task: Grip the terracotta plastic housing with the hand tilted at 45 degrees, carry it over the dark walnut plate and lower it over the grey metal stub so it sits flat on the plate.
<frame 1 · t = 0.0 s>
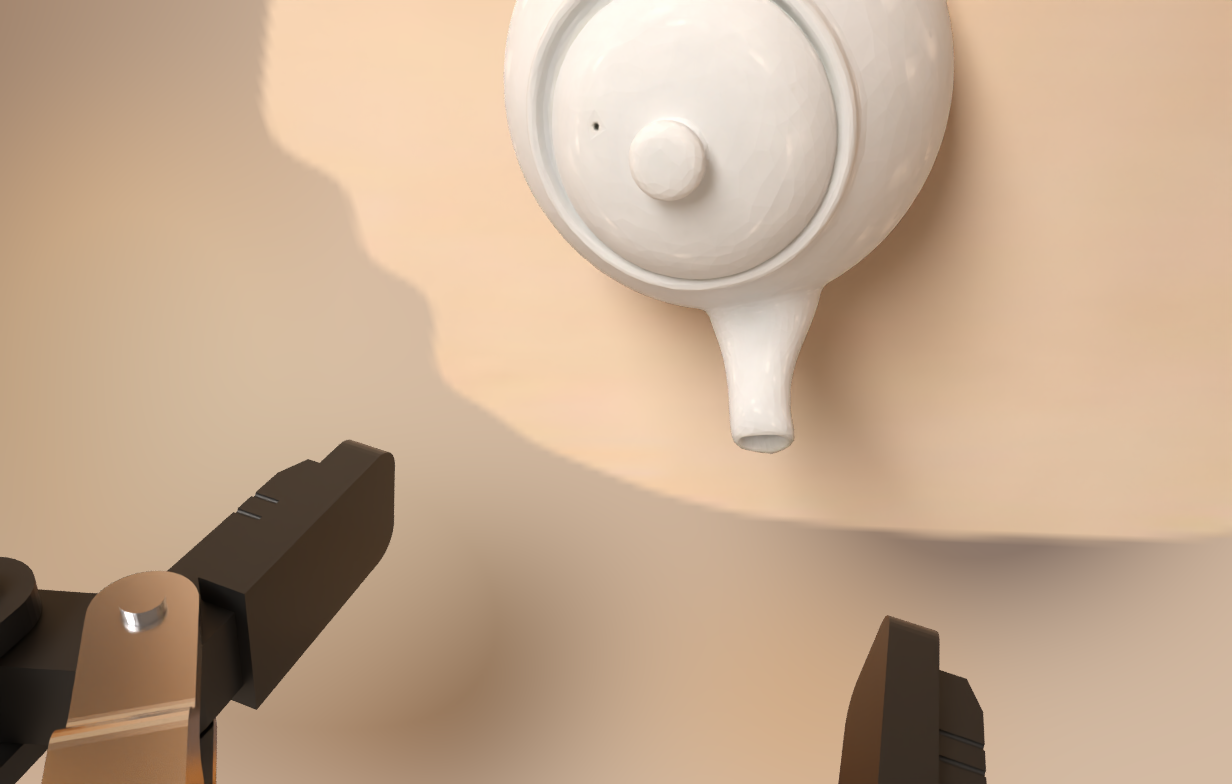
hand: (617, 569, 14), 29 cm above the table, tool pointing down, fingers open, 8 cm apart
teapot: (739, 65, 38), on the table
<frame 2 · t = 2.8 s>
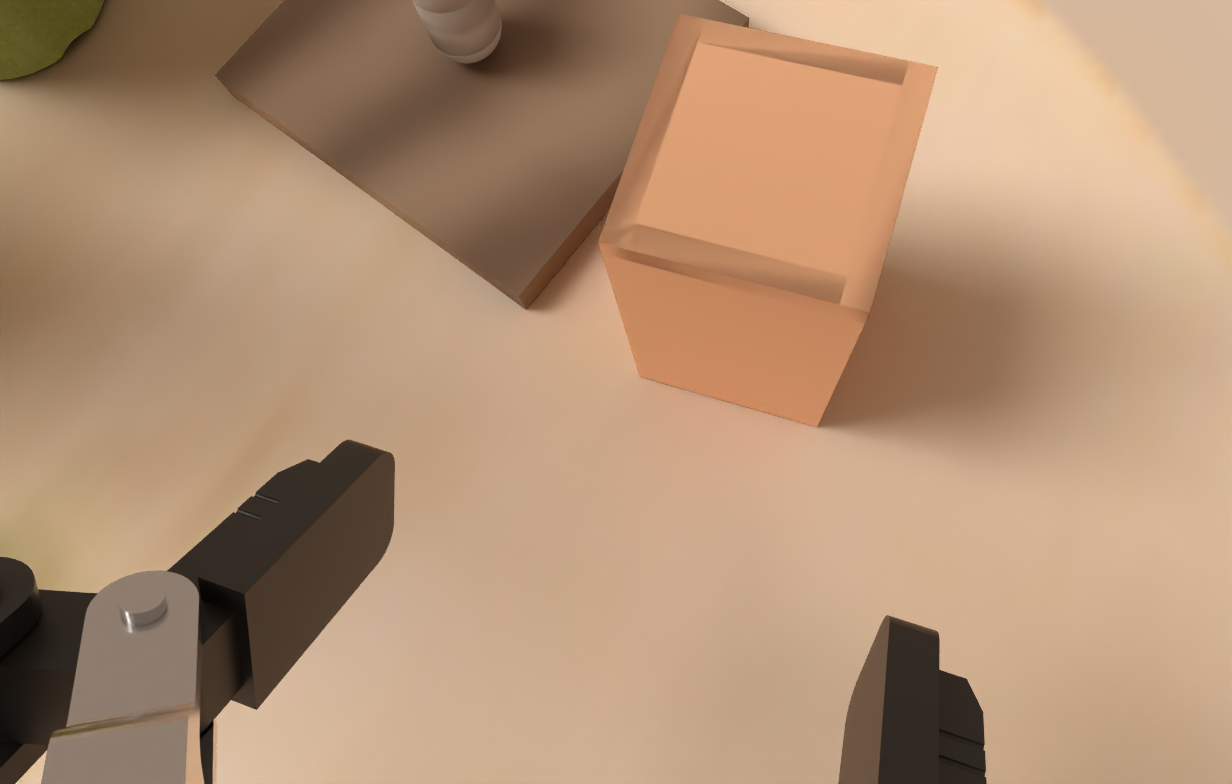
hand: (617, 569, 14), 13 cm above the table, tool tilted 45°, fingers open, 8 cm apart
housing: (752, 318, 28), on the table
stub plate: (483, 68, 32), on the table
plant pot: (27, 9, 35), on the table
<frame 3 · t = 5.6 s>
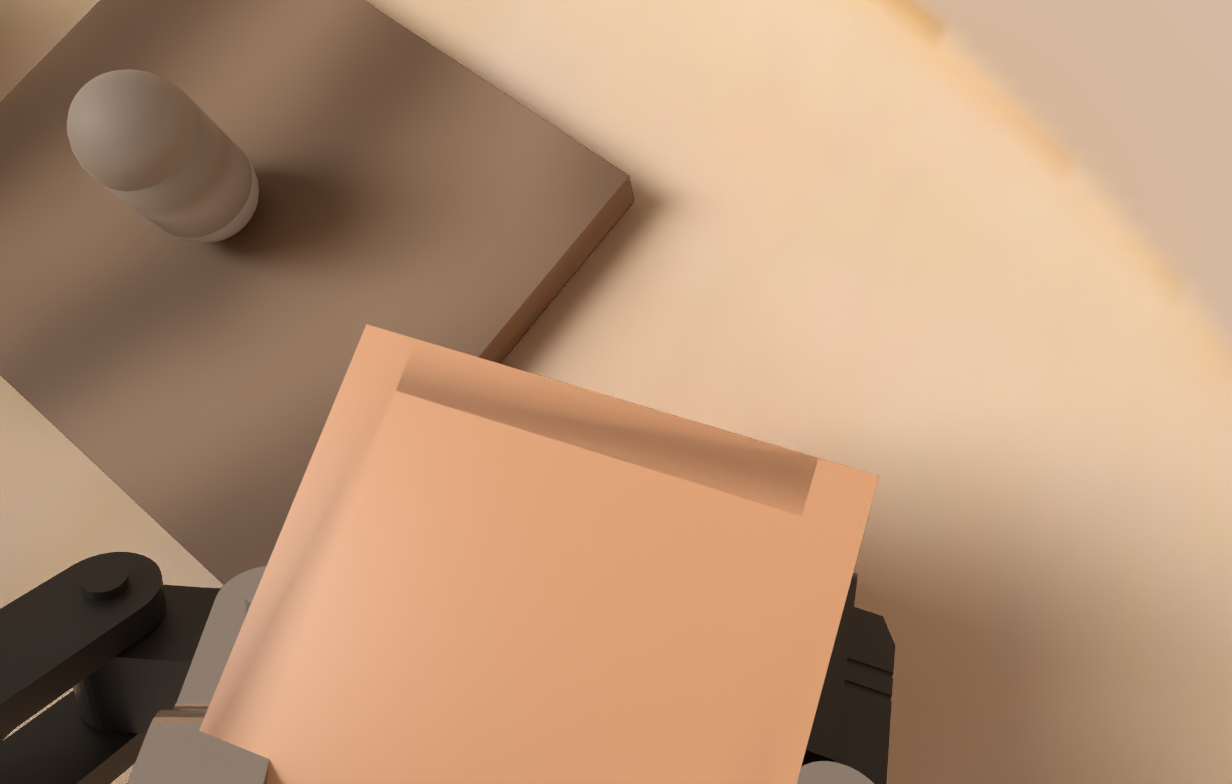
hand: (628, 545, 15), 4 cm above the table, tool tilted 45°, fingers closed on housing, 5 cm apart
housing: (623, 649, 18), on the table, touching gripper
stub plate: (254, 234, 22), on the table
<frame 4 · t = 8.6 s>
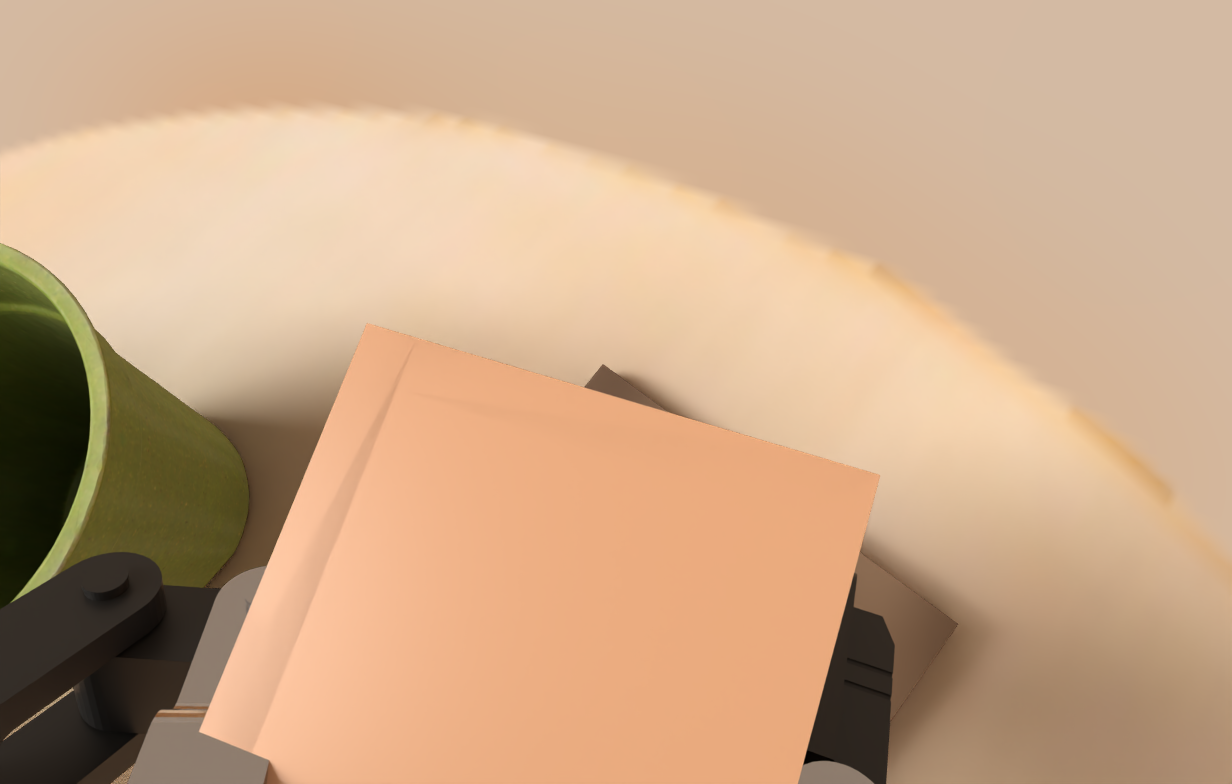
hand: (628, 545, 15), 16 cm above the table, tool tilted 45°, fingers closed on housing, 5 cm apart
housing: (624, 649, 18), point 12 cm above the table, touching gripper
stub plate: (659, 636, 30), on the table
plant pot: (161, 515, 33), on the table
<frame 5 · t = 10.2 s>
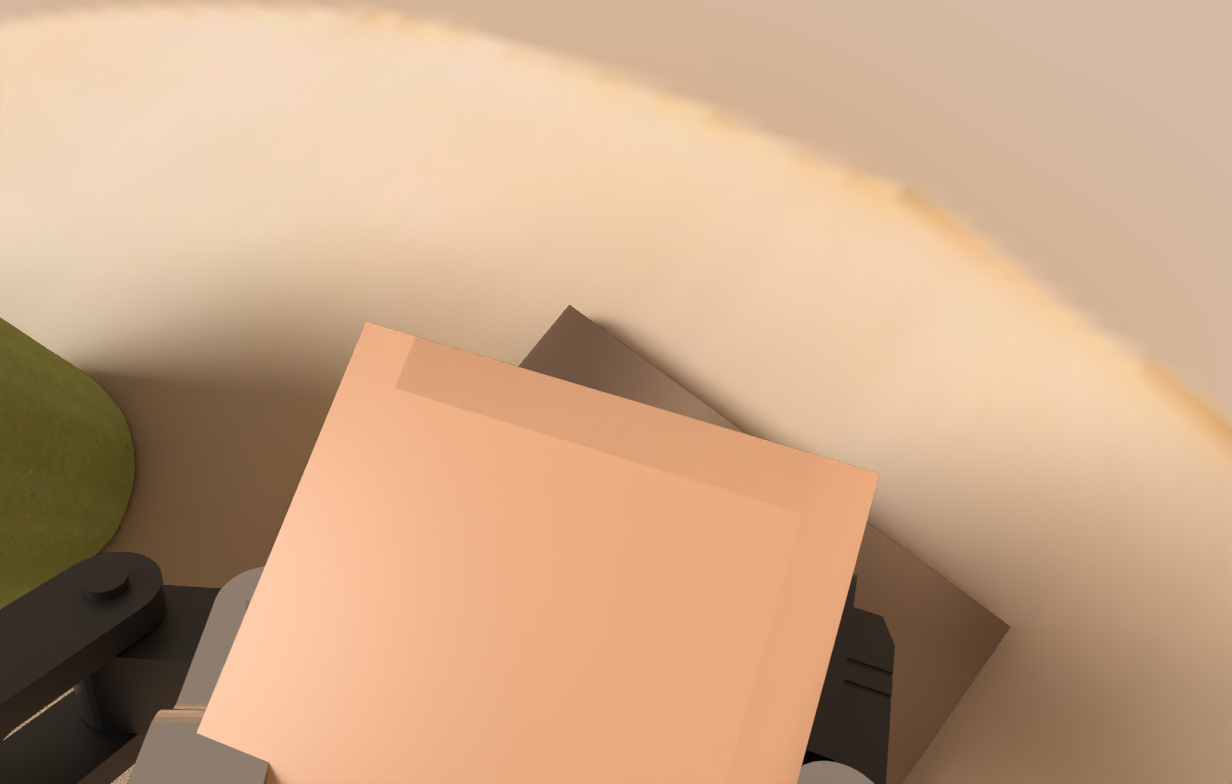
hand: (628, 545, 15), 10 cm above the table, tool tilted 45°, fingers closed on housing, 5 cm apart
housing: (624, 648, 18), point 6 cm above the table, touching gripper
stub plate: (636, 639, 24), on the table
plant pot: (29, 489, 27), on the table
when the fingers open (6 cm above the table, at t = 11.6 s): housing stays where it is, resting on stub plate.
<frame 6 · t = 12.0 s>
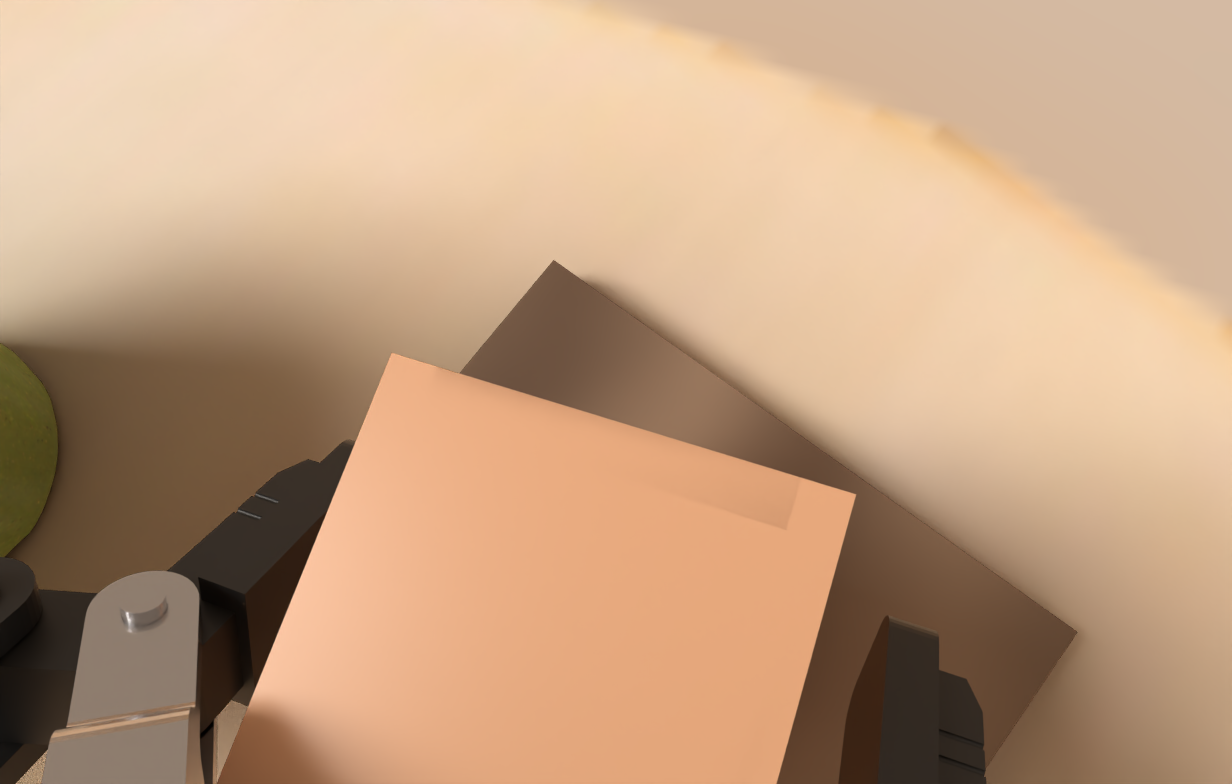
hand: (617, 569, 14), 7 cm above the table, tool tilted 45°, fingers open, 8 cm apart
housing: (624, 649, 19), point 1 cm above the table, touching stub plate
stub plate: (632, 648, 20), on the table
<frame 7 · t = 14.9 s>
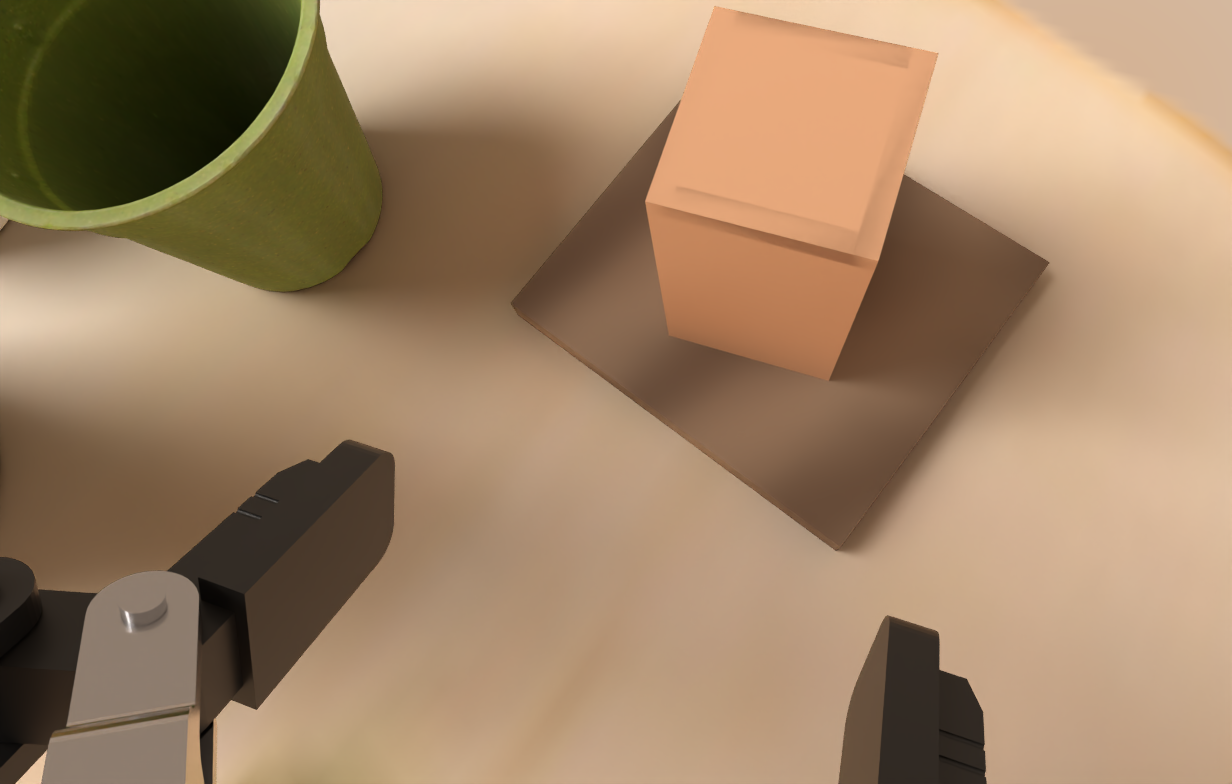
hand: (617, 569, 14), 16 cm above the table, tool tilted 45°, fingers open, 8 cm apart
housing: (770, 283, 31), point 1 cm above the table, touching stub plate
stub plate: (770, 296, 32), on the table
plant pot: (298, 214, 36), on the table
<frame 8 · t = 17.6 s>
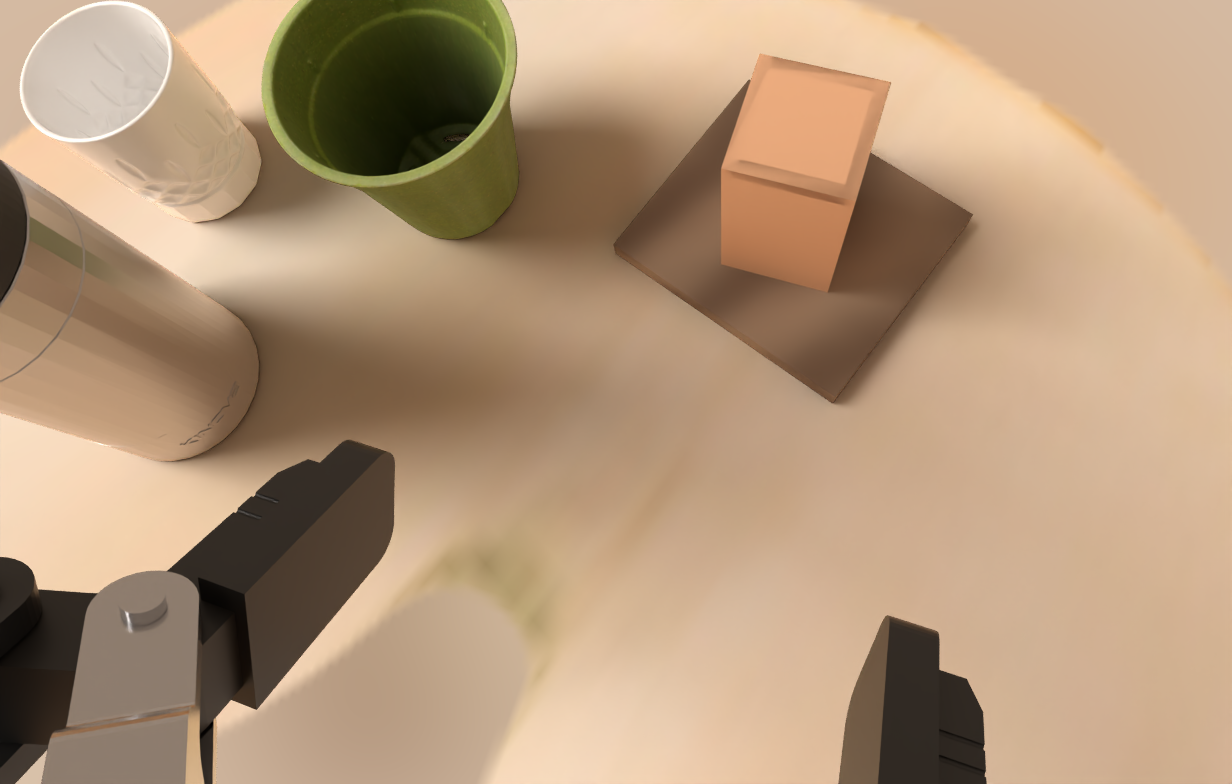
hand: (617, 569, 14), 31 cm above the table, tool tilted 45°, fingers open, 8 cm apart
housing: (788, 229, 47), point 1 cm above the table, touching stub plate
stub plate: (788, 239, 48), on the table
white cup: (210, 173, 53), on the table
plant pot: (458, 187, 51), on the table
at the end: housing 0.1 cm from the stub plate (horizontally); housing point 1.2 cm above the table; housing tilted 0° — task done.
